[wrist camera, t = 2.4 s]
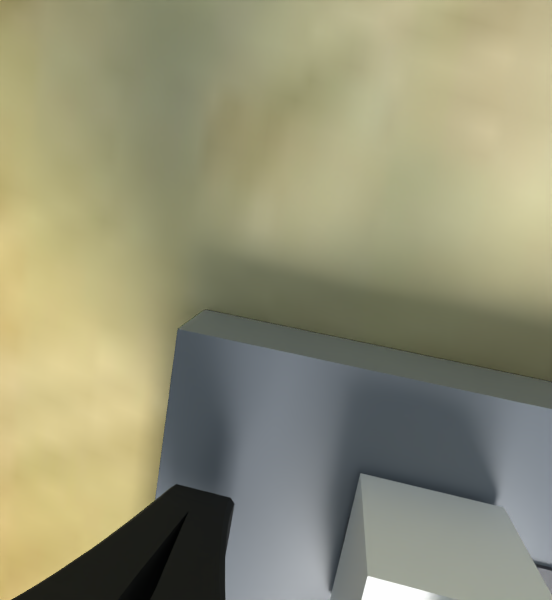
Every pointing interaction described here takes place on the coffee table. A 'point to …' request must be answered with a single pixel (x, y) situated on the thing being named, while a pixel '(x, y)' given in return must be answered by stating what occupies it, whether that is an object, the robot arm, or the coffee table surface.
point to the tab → (431, 548)
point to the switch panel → (342, 443)
